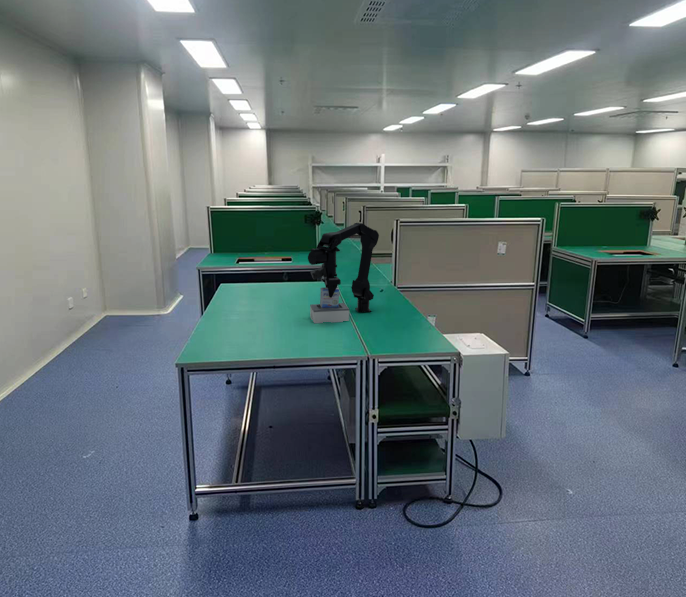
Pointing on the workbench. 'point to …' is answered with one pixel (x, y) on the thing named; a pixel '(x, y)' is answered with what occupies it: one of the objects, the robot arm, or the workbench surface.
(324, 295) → the medicine box
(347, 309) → the open box
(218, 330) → the workbench surface
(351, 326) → the workbench surface
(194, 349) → the workbench surface
